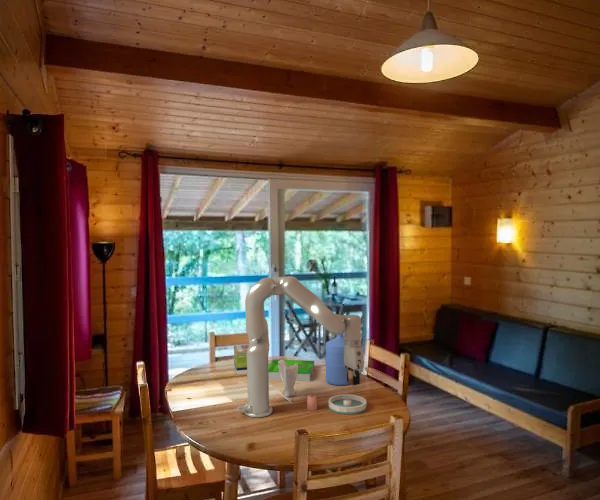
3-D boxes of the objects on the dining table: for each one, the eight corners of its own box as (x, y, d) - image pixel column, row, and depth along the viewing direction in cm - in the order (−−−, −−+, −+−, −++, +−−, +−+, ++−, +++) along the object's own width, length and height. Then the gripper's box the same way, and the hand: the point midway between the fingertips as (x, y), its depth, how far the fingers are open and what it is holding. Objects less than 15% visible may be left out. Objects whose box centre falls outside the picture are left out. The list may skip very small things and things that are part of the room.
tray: (273, 367, 274) (273, 359, 274) (314, 369, 271) (314, 360, 271) (264, 380, 249) (264, 371, 249) (309, 382, 246) (309, 373, 246)
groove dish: (341, 417, 197) (341, 410, 197) (321, 404, 212) (321, 397, 212) (373, 410, 204) (373, 403, 204) (352, 398, 220) (352, 392, 220)
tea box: (233, 369, 269) (233, 344, 269) (250, 368, 272) (250, 343, 271) (236, 377, 255) (236, 351, 254) (254, 375, 257) (253, 349, 257)
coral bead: (310, 411, 203) (309, 398, 203) (305, 408, 207) (305, 395, 207) (318, 409, 205) (318, 396, 205) (314, 406, 209) (313, 393, 209)
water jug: (342, 388, 235) (342, 334, 234) (319, 381, 245) (319, 330, 244) (360, 380, 246) (360, 329, 245) (337, 375, 257) (337, 326, 256)
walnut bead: (351, 385, 201) (351, 372, 201) (346, 383, 205) (346, 369, 205) (360, 384, 203) (359, 370, 203) (354, 381, 207) (354, 368, 206)
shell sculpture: (300, 395, 224) (300, 359, 224) (288, 399, 218) (288, 362, 218) (288, 391, 230) (288, 356, 230) (276, 395, 224) (276, 359, 224)
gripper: (370, 345, 197) (371, 387, 198) (349, 338, 212) (350, 376, 213) (356, 347, 194) (356, 389, 195) (335, 339, 209) (336, 379, 210)
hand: (353, 382), depth 204 cm, fingers closed on walnut bead, 4 cm apart
